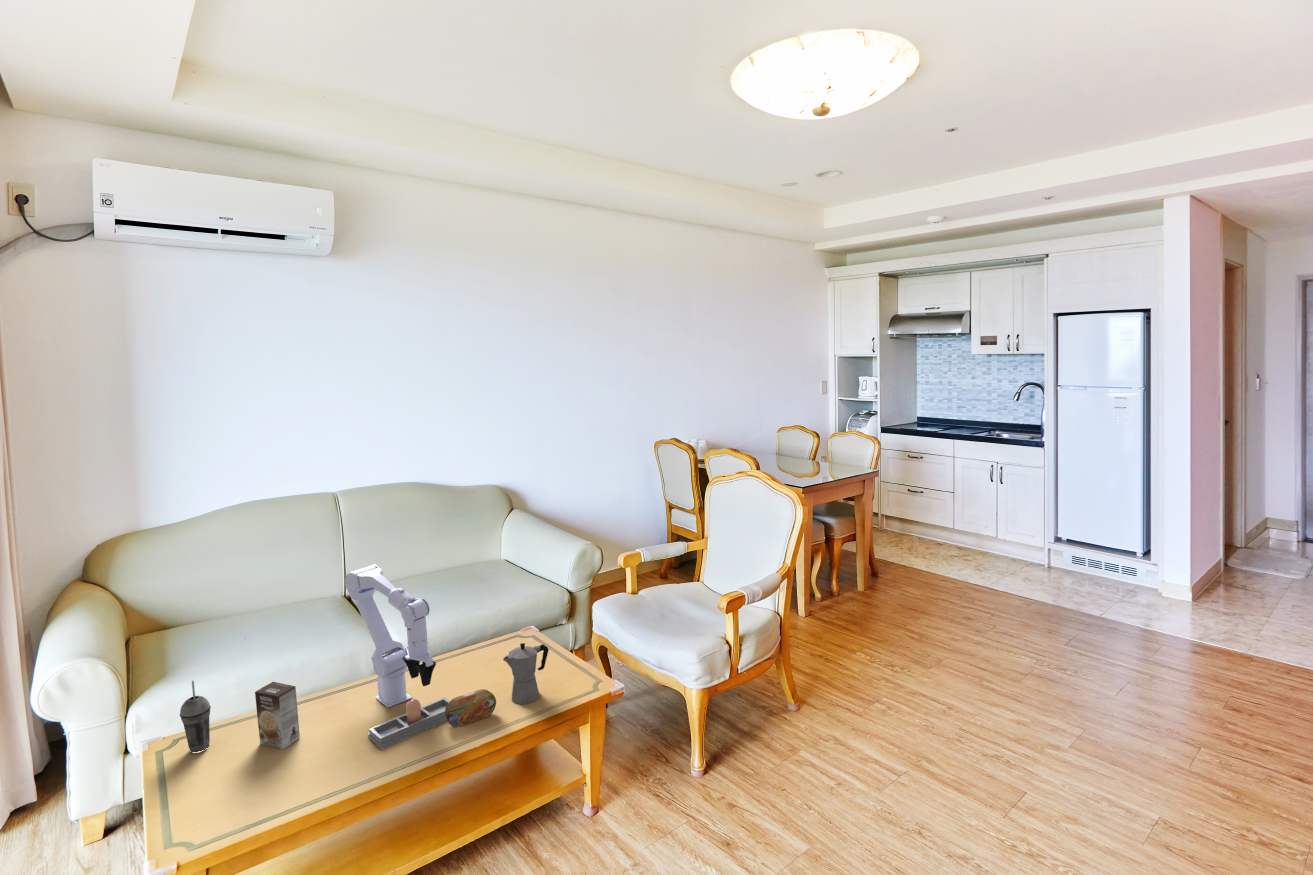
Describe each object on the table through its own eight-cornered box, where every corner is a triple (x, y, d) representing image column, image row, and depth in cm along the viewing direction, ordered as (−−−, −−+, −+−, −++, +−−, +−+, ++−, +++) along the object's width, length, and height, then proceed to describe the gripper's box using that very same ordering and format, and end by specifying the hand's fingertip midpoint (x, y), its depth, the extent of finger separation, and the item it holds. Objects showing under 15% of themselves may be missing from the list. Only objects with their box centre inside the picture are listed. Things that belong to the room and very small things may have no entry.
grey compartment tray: (368, 737, 193) (367, 727, 192) (444, 704, 210) (443, 696, 209) (381, 749, 186) (380, 739, 186) (459, 714, 204) (458, 706, 203)
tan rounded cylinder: (404, 722, 198) (403, 699, 197) (417, 716, 201) (416, 694, 200) (410, 727, 195) (409, 704, 194) (423, 721, 198) (422, 699, 197)
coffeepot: (512, 709, 206) (508, 654, 204) (500, 697, 213) (496, 644, 211) (556, 694, 215) (554, 640, 212) (543, 682, 222) (541, 631, 220)
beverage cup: (182, 759, 184) (173, 691, 182) (186, 746, 191) (178, 680, 188) (213, 751, 187) (205, 684, 185) (216, 739, 194) (209, 673, 192)
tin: (447, 730, 195) (445, 703, 194) (444, 725, 198) (442, 699, 197) (497, 714, 203) (495, 688, 202) (493, 710, 206) (492, 684, 205)
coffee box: (258, 744, 191) (253, 691, 189) (277, 732, 197) (272, 680, 195) (283, 749, 188) (277, 695, 186) (301, 737, 194) (296, 685, 192)
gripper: (394, 636, 207) (397, 678, 208) (416, 650, 197) (419, 693, 198) (415, 629, 212) (419, 670, 213) (438, 642, 202) (441, 684, 203)
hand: (420, 680), depth 206 cm, fingers open, 7 cm apart
